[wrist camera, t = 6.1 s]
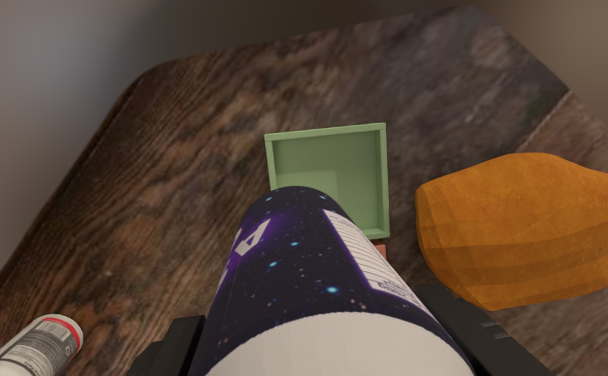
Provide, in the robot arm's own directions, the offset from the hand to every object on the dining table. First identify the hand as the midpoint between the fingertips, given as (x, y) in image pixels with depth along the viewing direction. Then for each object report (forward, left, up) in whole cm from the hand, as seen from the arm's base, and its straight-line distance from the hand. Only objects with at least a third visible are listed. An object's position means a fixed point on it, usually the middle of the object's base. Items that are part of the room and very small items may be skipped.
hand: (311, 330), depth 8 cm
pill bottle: (+13, -25, -23) cm, 36 cm away
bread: (+5, +21, -23) cm, 31 cm away
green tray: (+1, +4, -22) cm, 23 cm away
